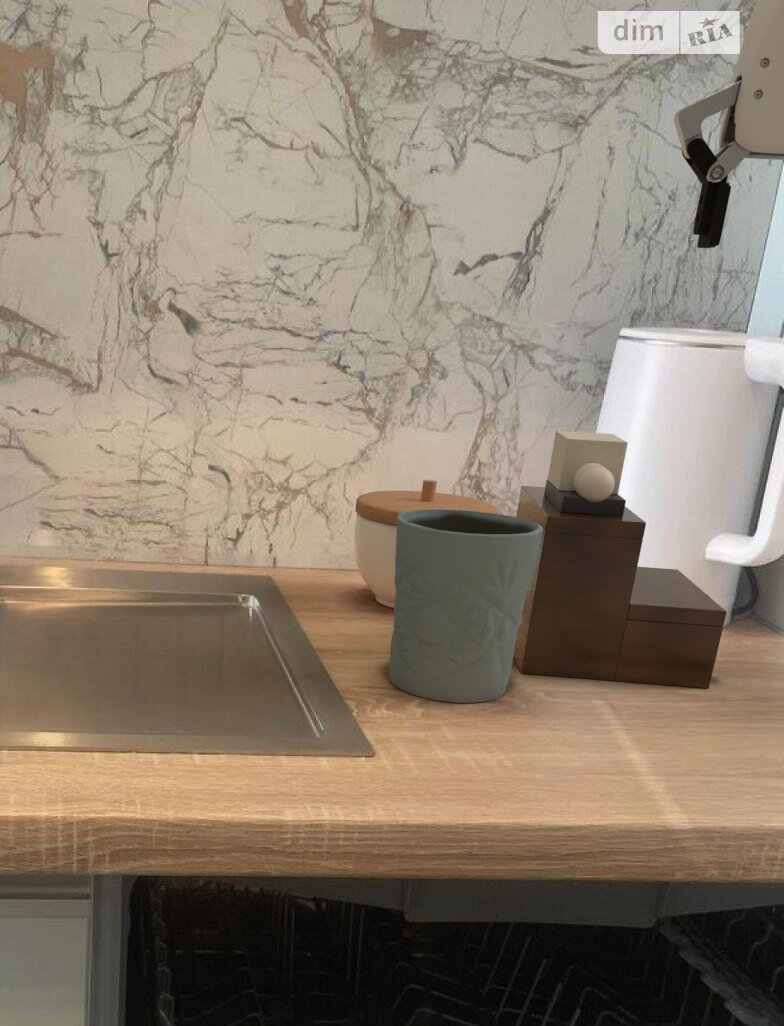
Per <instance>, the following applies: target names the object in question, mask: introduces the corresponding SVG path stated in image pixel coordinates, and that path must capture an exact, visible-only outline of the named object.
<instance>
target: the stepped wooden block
mask: <svg viewBox="0 0 784 1026" xmlns="http://www.w3.org/2000/svg"><path fill="white" fill-rule="evenodd" d="M544 492H545V486H531V485H530V486H529V485H521V486H520V491H519V497H518V503H517V510H516V516H515V517H516V518H521V519H525V520H529V521H532V522H535V523H537V524H539V525H540V526H542V528H543V533H542V537H541V541H540V545H539V550H538V554H537V558H536V562H535V566H534V570H533V574H532V577H531V580H530V583H529V587H528V590H527V593H526V597H525V602H524V607H523V610H522V614H521V624H520V627H519V629H518V631H517V636H516V642H515V648H514V656H513V660H514V661H515V663H516V665H517V668H518V669H519V672H520V674H523V675H525V674H526V675H536V676H549V677H562V678H572V679H573V678H574V679H587V680H599V681H610V682H611V681H613V682H614V681H615V682H624V683H636V684H637V683H638V684H648V685H663V686H671V687H672V686H674V687H687V688H697V689H709V688H710V685H711V680H712V677H713V673H714V667H715V663H716V660H717V655H718V651H719V647H720V643H721V638H722V635H723V634H722V633H723V630H724V625H725V620H726V617H727V613H728V612H727V610H726V609H724V608H723V607H722V606H721V605H720V604H719V603H718V602H717V601H715V600H714V599H713V598H712V597H710V596H709V595H708V594H707V593H706V592H704V590H703V589H702V588H700V587H699V586H697V585H696V583H694V582H693V581H692V580H691V579H689V578H688V577H687V576H686V575H685V574H684V573H682V572H681V570H679V569H676V568H675V569H674V568H663V567H649V566H646V567H645V566H639V561H640V555H641V550H642V546H643V539H644V536H645V531H646V526H647V522H646V521H644V520H643V519H642V518H641V517H640V516H638V515H637V514H636V513H635V512H633V510H631V509H629V507H627V506H626V505H625V508H624V513H623V517H620V516H605V515H590V514H576V513H561V512H560V511H559V510H558V509H557V508H556V507H555V506H554V505H553V503H552V502H551V501H550V500H549V499H548V498H547V497H546V496H545V495H544Z"/></svg>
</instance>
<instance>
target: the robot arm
mask: <svg viewBox="0 0 784 1026" xmlns="http://www.w3.org/2000/svg"><path fill="white" fill-rule="evenodd" d="M722 111H723V114H722V118H721V123H720V128H719V135H718V146H719V148H720V150H719V151H717V153H715V154H714V152H713V151H712V149H711V148H710V146H709V145H708V143H707V142H706V141H705V139H704V136H703V131H702V124H703V122H704V120H706V119H707V118H709V117H711V116H714V115H716V114H718V113H720V112H722ZM673 123H674V127H675V130H676V133H677V139H678V141H679V144H680V146H681V155H682V157H683V159H684V161H686V163H687V165H688V166H689V167H690V169H691V171H692V172H693V174H695V176H696V180H697V182H698V184H699V185H701V188H700V191H699V192H700V193H699V196H698V203H697V208H696V213H695V218H694V223H693V229H692V232H693V233H692V235H694V236H698V239H697V245H696V247H697V248H698V249H714V248H716V247H718V246H719V245H720V243H721V238H722V233H723V229H724V225H725V219H726V215H727V210H728V206H729V201H730V196H731V191H732V186H731V185H730V182H728V177H729V174H730V173H731V172H732V171H733V170H734V169H736V167H737V166H738V165H739V164H740V163H741V162H742V161H743V160H744V159H756V160H774V161H775V160H777V161H778V160H779V161H784V0H756V3H755V6H754V8H753V11H752V13H751V17H750V19H749V21H748V25H747V28H746V31H745V35H744V38H743V41H742V44H741V47H740V51H739V55H738V58H737V61H736V65H735V68H734V71H733V76H732V80H731V83H730V85H729V86H726V87H725V88H723V89H720V90H718V91H716V92H714V93H711V94H710V95H708V96H706V97H704V98H702V99H700V100H698V101H696V102H693V103H691V104H690V105H687V106H685V107H683V108H682V109H680V110H678V111H676V113H675V114H674V117H673Z"/></svg>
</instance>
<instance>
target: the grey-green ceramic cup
mask: <svg viewBox="0 0 784 1026" xmlns="http://www.w3.org/2000/svg"><path fill="white" fill-rule="evenodd" d="M542 533H543V528H542V526H540V525H539V524H537V523H535V522H532V521H529V520H525V519H521V518H516V516H511V515H506V514H500V513H499V514H493V513H485V512H476V511H467V510H449V509H429V510H414V511H408V512H404V513H401V514H400V515H398V516H397V532H396V558H395V577H394V581H395V587H396V596H395V604H394V608H393V619H394V621H393V632H392V635H391V641H390V650H389V651H390V654H389V655H390V656H389V681H390V683H392V685H393V686H395V687H396V688H398V689H399V690H401V691H403V692H405V693H408V694H410V695H414V696H416V697H420V698H422V699H427V700H433V701H439V702H445V703H447V702H448V703H458V704H474V703H475V704H476V703H484V702H490V701H494V700H497V699H499V698H501V697H503V695H505V692H506V690H507V688H508V684H509V680H510V676H511V672H512V667H513V662H514V648H515V642H516V636H517V631H518V629H519V627H520V624H521V614H522V610H523V607H524V602H525V597H526V593H527V590H528V587H529V583H530V580H531V577H532V574H533V570H534V566H535V562H536V558H537V554H538V550H539V545H540V541H541V537H542Z"/></svg>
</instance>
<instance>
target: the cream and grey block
mask: <svg viewBox="0 0 784 1026" xmlns="http://www.w3.org/2000/svg"><path fill="white" fill-rule="evenodd" d="M628 443H629V442H628V441H626V440H625V439H622V438H621V437H619V436H617V435H615V434H613V433H603V432H602V433H601V432H588V431H587V432H585V431H570V430H555V434H554V439H553V444H552V445H553V446H552V451H551V458H550V464H549V468H548V475H547V479H546V480H545V486H544V487H545V492H544V495H545V496H546V497H547V498H548V499H549V500H550V501H551V502H552V503H553V505H554V506H555V507H556V508H557V509H558V510H559V511H560V512H561V513H576V514H590V515H605V516H620V517H623V513H624V508H625V506H626V502H627V500H626V499H625V498H624V497H622V496H621V495H619V490H620V485H621V479H622V475H623V470H624V465H625V458H626V453H627V449H628Z"/></svg>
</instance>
